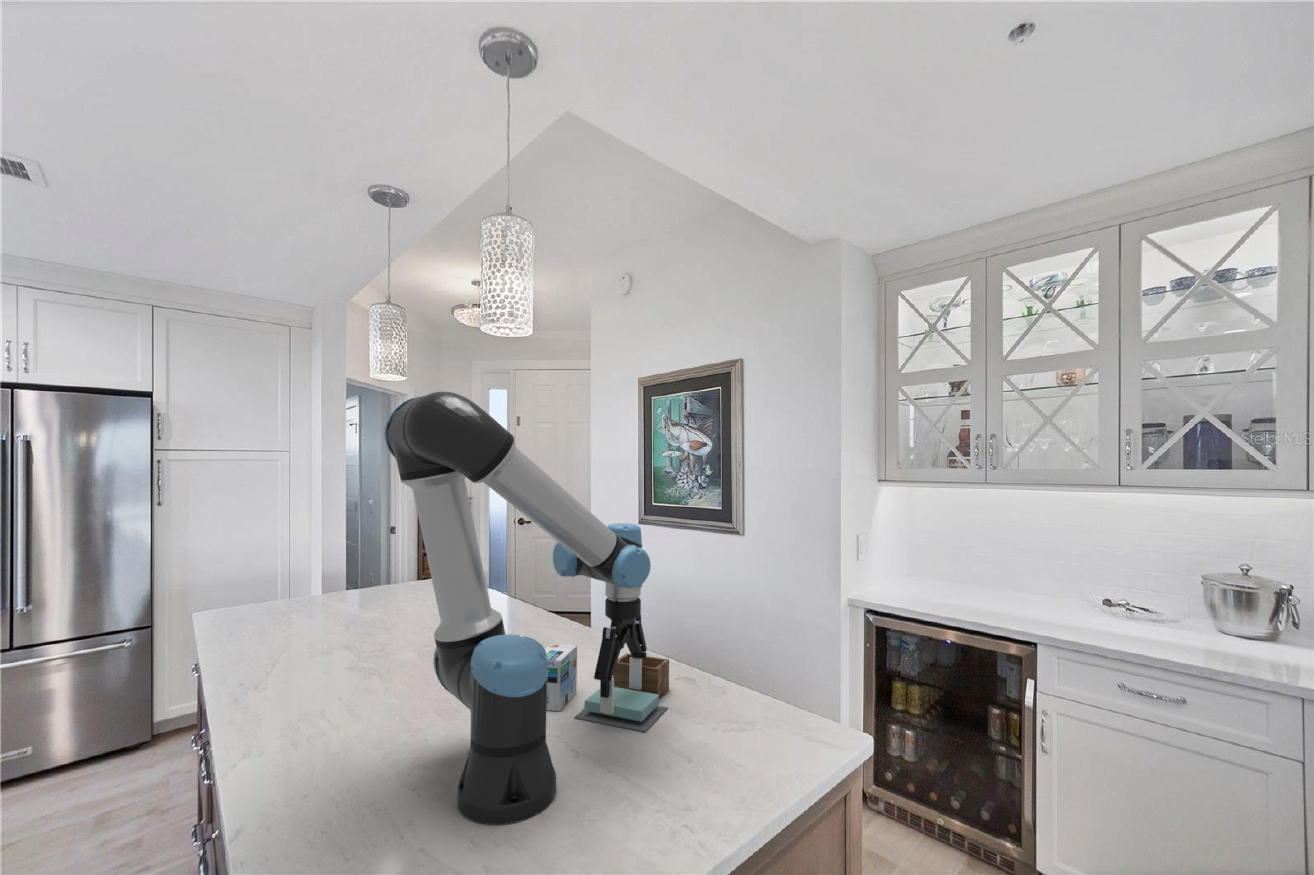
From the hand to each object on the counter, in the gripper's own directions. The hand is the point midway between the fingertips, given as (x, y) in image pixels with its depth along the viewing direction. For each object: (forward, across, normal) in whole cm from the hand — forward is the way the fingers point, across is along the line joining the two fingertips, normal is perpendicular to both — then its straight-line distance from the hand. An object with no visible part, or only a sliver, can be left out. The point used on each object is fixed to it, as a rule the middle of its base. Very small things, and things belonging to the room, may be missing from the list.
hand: (621, 699), depth 121 cm
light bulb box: (+3, 0, +16) cm, 17 cm away
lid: (+2, 0, 0) cm, 3 cm away
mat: (+3, 0, 0) cm, 3 cm away
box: (+3, +12, +1) cm, 12 cm away
